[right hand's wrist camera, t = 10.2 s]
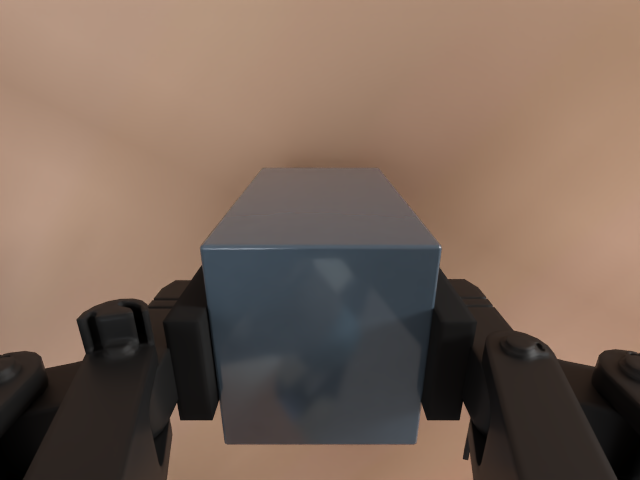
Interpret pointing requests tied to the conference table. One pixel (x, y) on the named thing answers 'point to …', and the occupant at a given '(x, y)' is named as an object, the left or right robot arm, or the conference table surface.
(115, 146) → the conference table surface
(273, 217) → the brick
